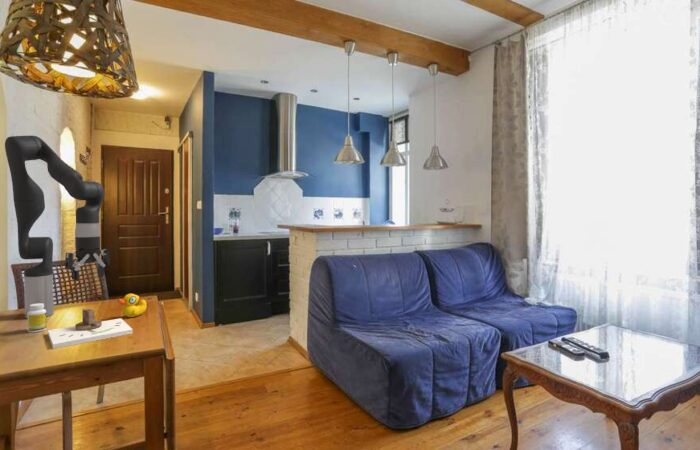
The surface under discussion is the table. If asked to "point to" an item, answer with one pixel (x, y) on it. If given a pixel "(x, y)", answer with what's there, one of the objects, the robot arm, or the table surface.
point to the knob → (88, 321)
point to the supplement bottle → (37, 318)
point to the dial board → (88, 333)
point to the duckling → (132, 305)
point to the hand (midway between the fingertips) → (88, 278)
